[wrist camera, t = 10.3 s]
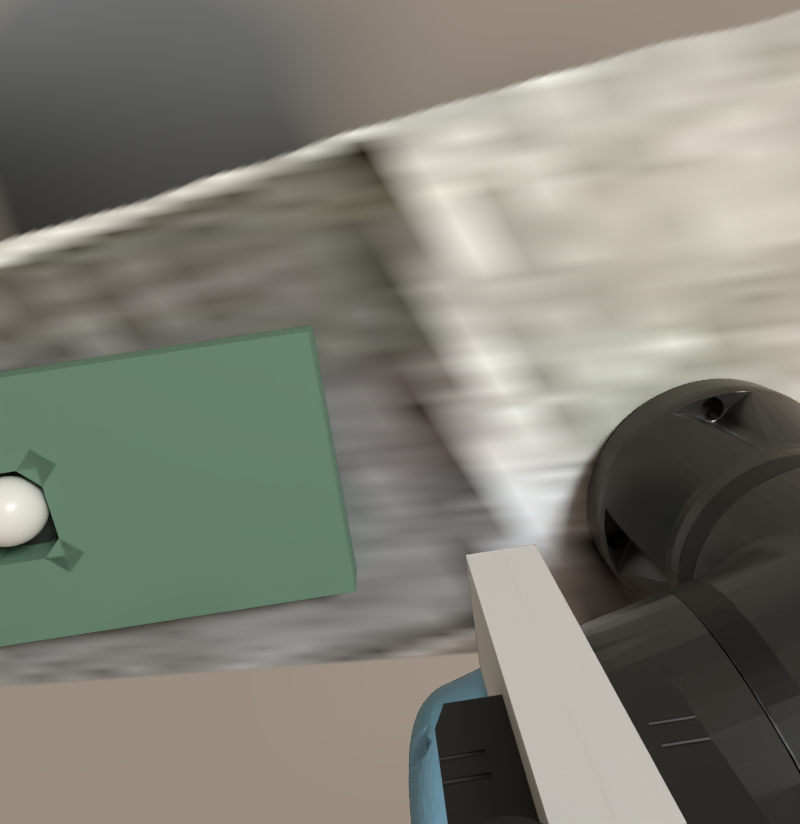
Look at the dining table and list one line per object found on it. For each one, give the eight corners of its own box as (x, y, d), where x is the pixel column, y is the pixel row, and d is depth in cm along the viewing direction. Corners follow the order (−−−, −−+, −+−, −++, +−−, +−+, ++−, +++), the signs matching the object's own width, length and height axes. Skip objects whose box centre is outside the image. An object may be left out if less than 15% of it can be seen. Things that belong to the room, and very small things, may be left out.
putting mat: (311, 325, 36) (308, 331, 34) (356, 570, 40) (356, 591, 38) (-140, 392, 36) (-177, 404, 33) (-45, 632, 40) (-71, 657, 38)
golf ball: (69, 481, 38) (47, 508, 34) (43, 537, 38) (18, 570, 35) (0, 455, 37) (-31, 480, 33) (-26, 513, 37) (-59, 544, 33)
